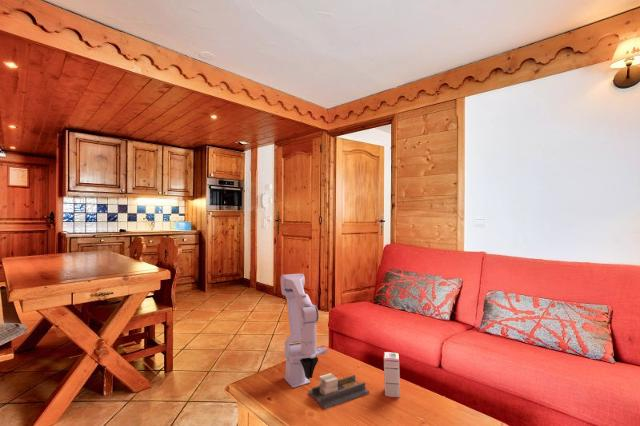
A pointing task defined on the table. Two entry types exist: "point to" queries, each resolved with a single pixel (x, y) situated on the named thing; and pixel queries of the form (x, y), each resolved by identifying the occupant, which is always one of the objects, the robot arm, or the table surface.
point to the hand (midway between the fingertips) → (308, 377)
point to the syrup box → (391, 374)
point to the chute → (340, 392)
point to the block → (328, 384)
